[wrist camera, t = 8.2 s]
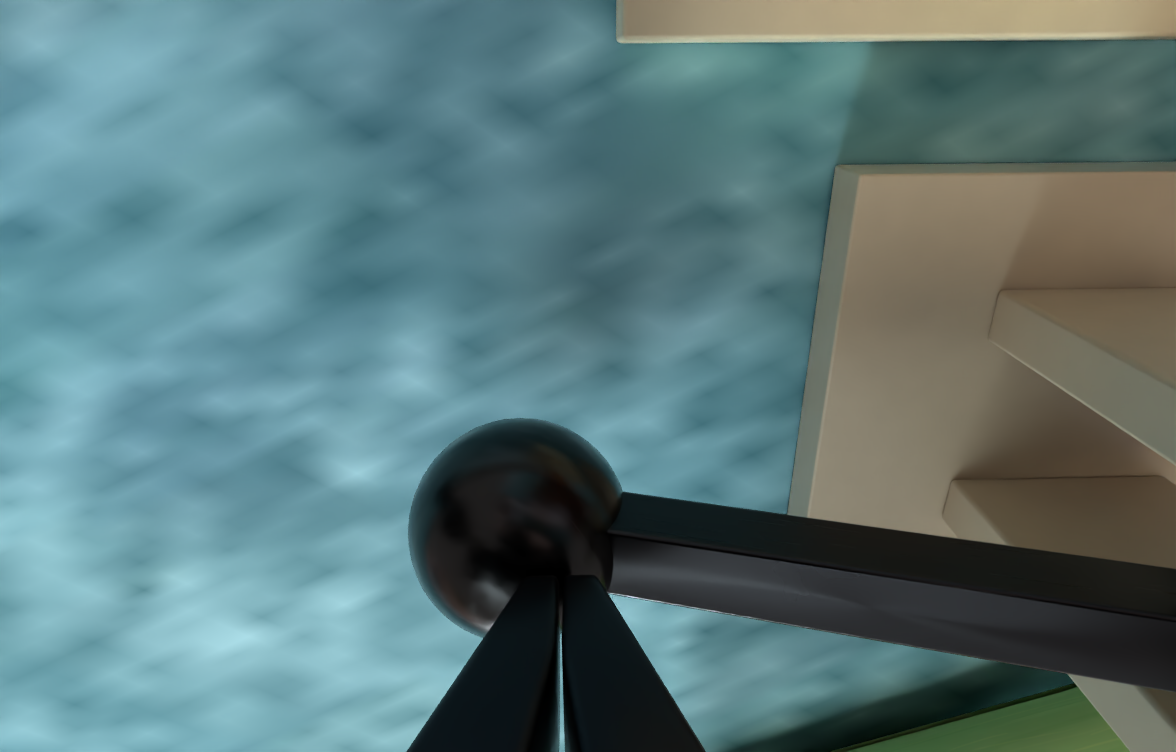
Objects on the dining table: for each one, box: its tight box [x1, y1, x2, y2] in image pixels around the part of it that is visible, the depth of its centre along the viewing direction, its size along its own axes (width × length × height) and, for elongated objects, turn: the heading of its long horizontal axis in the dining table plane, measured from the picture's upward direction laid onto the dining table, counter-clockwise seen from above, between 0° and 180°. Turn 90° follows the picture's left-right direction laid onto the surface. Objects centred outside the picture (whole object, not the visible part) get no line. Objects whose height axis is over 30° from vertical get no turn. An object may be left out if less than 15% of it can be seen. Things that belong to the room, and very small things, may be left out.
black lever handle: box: [408, 418, 1176, 693], centre depth 9 cm, size 14×3×3 cm, turn 91°
